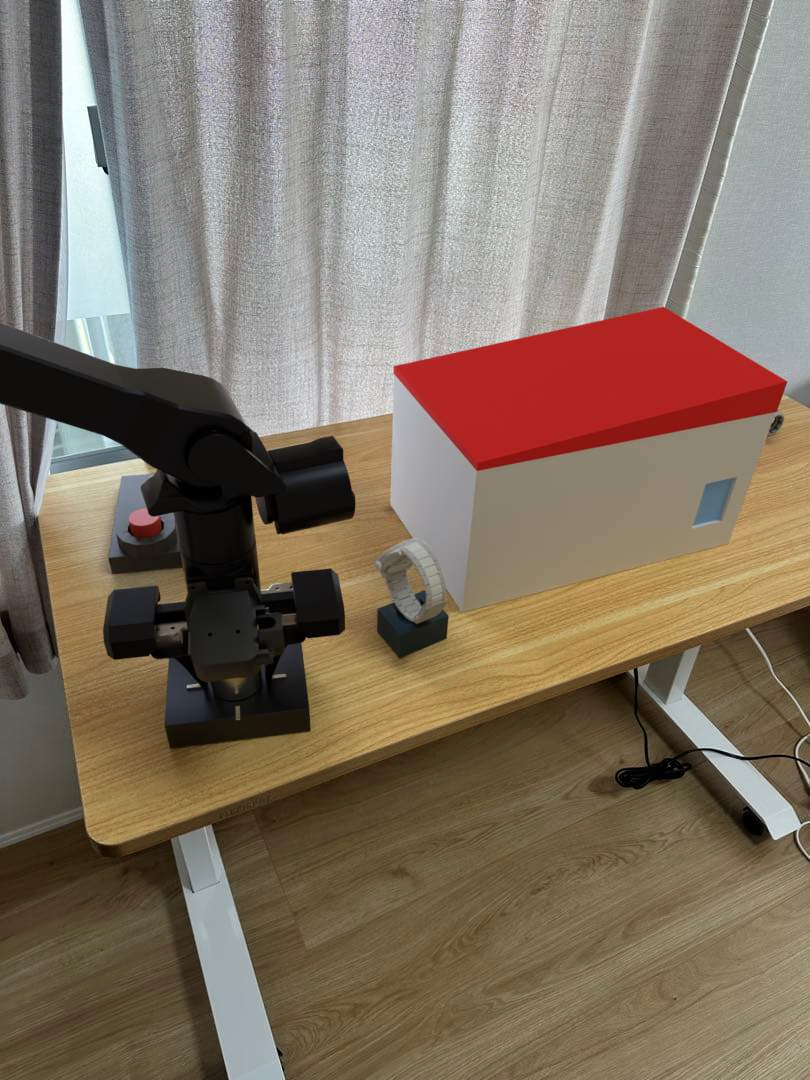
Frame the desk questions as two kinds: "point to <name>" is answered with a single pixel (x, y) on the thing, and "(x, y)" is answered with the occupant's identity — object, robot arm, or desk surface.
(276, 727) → the lock panel
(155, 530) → the bell button
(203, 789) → the desk surface
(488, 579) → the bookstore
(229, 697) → the lock knob
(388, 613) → the watch
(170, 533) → the dark grey button base
